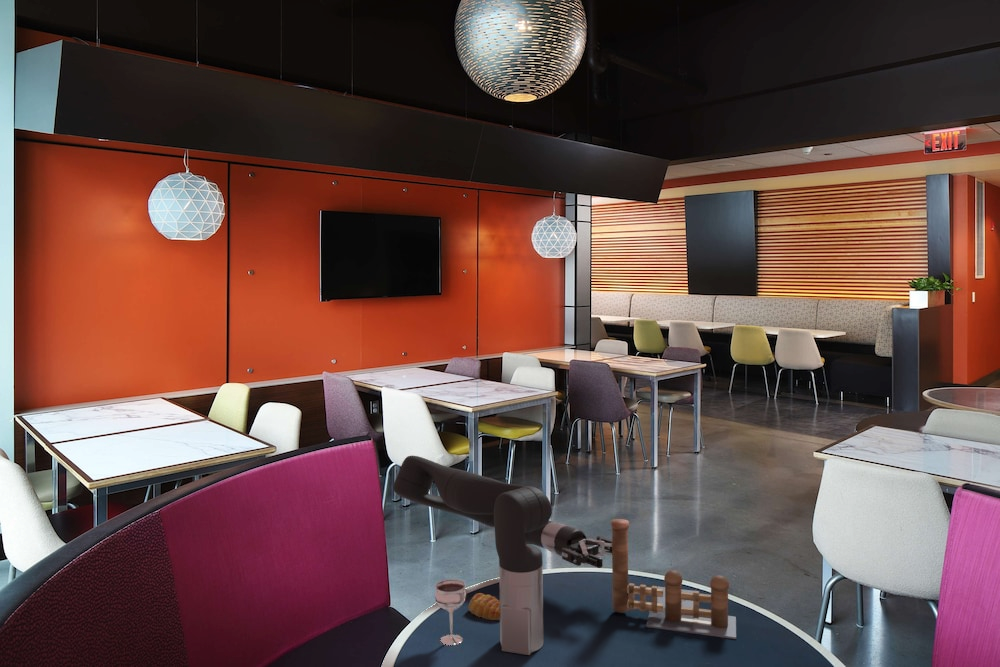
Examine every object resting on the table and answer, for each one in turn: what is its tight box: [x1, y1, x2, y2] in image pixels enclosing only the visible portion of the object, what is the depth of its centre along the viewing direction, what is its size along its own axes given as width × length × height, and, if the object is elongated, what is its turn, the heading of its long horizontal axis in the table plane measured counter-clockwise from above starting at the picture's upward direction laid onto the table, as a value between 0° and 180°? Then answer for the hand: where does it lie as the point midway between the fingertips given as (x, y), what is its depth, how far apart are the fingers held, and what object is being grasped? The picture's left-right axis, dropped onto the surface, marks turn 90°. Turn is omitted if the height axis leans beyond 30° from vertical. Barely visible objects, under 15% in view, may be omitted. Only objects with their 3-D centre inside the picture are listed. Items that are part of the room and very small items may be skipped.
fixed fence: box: [663, 569, 730, 628], centre depth 156 cm, size 4×14×12 cm, turn 71°
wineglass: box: [434, 578, 467, 647], centre depth 150 cm, size 7×7×12 cm
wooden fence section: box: [610, 518, 663, 613], centre depth 159 cm, size 12×4×21 cm, turn 72°
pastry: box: [467, 592, 500, 621], centre depth 162 cm, size 9×7×4 cm
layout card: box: [645, 585, 737, 640], centre depth 162 cm, size 22×19×1 cm
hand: (613, 559), depth 162 cm, fingers open, 8 cm apart
